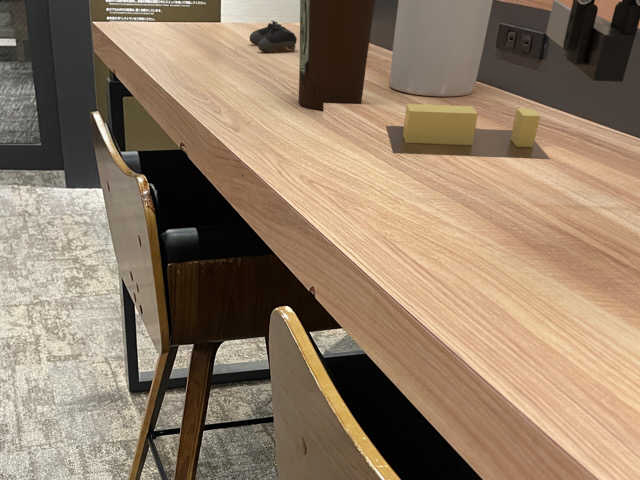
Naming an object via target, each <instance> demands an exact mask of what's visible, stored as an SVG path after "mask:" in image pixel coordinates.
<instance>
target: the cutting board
mask: <svg viewBox="0 0 640 480" xmlns="http://www.w3.org/2000/svg"><path fill="white" fill-rule="evenodd" d="M385 128H386V132H387V136H388V140H389V143H390V147H391V151H392V154H399V155H400V154H401V155H424V156H426V155H428V156H450V157H451V156H454V157H455V156H456V157H482V158H503V159H504V158H507V159H509V158H510V159H531V160H534V159H536V160H551V158H550V157H549V156H548V154H547V153H546V151H544V149H543V148H542V147H541V146H540V145H539V143H538V142H536V140H535V141H534V146H533V148H528V147H516V146H515V144H514V143H513V142H512V140H511V134H512V129H490V128H475V133H474V138H473V144H472V145H450V144H423V143H405V140H404V137H403V129H404V125H385Z"/></svg>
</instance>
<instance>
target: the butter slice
mask: <svg viewBox="0 0 640 480" xmlns="http://www.w3.org/2000/svg"><path fill="white" fill-rule="evenodd" d="M540 119H541V115H540V114H539V113H538V112H537V110H536V109H534V108H531V107H530V108H529V107H528V108H527V107H525V108H524V107H517V108H516V110H515V115H514V119H513V125H512V129H511V130H512V134H511V140H512V142H513V143H514V144H515V146H516V147H528V148H533V146H534V141H536V138H537V137H536V136H537V132H538V128H539V124H540Z"/></svg>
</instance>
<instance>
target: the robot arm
mask: <svg viewBox="0 0 640 480" xmlns="http://www.w3.org/2000/svg"><path fill="white" fill-rule="evenodd" d="M595 1H596V0H572V4H571V7H570V8H571V12H570V17H569V21H568V25H567V30H566V34H565V39H564V44H563V48H562V49H563V51H564V52H565V51H568V53H567V59H566V60H567V61H568V62H569V63H571V64H572V65H573V64H574V65H573V66H575V65H582V63H584V61H585V57H586V53H587V49H588V45H589V41H590V37H591V33H592V29H593V27H594V23H595V19H596V16H598V15H597V14H598V11H599V7H598V6H597V4H595ZM610 23H612V24H614V25H616V26H618V27H619V28H621V29H623V30H625V31H626V32H628V33H630V34H632V35H634V36H635V37H636V35H637V31H638V29H639V24H640V0H621V1H618V3H617V4H615V6H614V10H613V13H612V18H611V21H610Z"/></svg>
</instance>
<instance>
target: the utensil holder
mask: <svg viewBox="0 0 640 480" xmlns="http://www.w3.org/2000/svg"><path fill="white" fill-rule="evenodd" d="M493 1H494V0H398V3H397V11H396V19H395V28H394V34H393V35H394V36H393V45H392V54H391V65H390V76H389V86H390V88H391V89H393V90H395V91H398V92H401V93H406V94H410V95H416V96H424V97H427V96H428V97H443V98H444V97H447V98H448V97H450V98H451V97H462V96H467V95H471V94H473V93H474V91H475V88H476V87H475V86H476V84H477V83H476V82H477V78H478V74H479V70H480V63H481V60H482V55H483V52H484V46H485V41H486V36H487V31H488V26H489V21H490V17H491V11H492V7H493Z"/></svg>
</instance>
